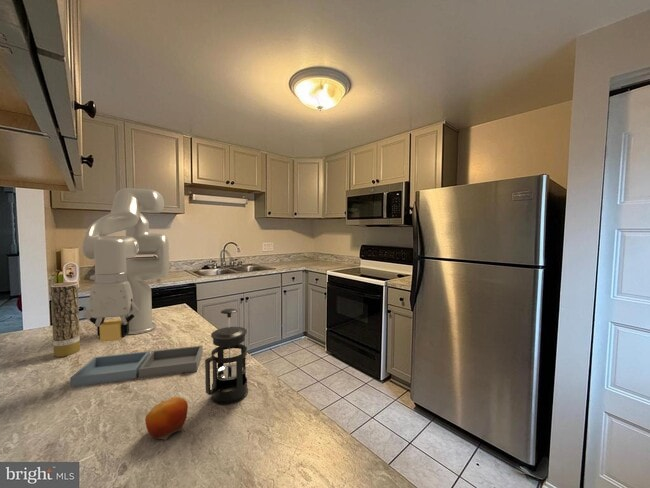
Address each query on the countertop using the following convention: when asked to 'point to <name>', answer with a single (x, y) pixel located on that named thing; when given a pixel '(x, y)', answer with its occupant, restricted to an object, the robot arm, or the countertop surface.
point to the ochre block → (110, 330)
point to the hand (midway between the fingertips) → (113, 336)
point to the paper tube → (65, 318)
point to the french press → (227, 365)
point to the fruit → (167, 417)
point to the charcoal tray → (171, 361)
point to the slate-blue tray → (110, 369)
